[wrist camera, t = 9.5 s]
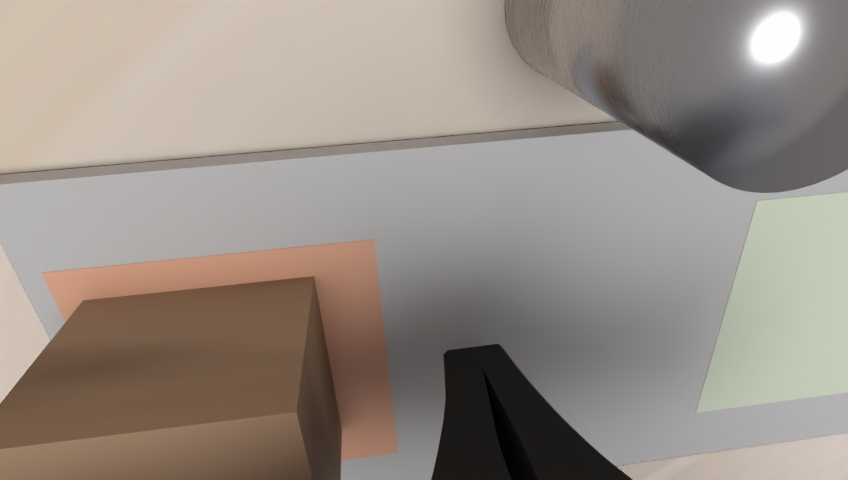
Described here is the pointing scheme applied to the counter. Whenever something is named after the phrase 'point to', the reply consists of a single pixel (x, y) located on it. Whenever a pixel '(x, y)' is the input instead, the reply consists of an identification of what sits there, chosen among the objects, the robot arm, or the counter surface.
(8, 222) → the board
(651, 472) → the counter surface
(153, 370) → the walnut block
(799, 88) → the metal peg
